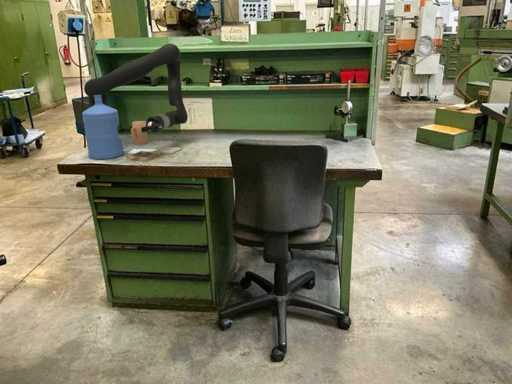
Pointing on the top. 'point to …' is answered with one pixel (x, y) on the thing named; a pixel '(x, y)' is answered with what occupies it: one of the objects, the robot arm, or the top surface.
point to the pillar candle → (139, 133)
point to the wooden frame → (134, 157)
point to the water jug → (102, 131)
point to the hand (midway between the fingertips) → (136, 129)
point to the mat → (168, 150)
